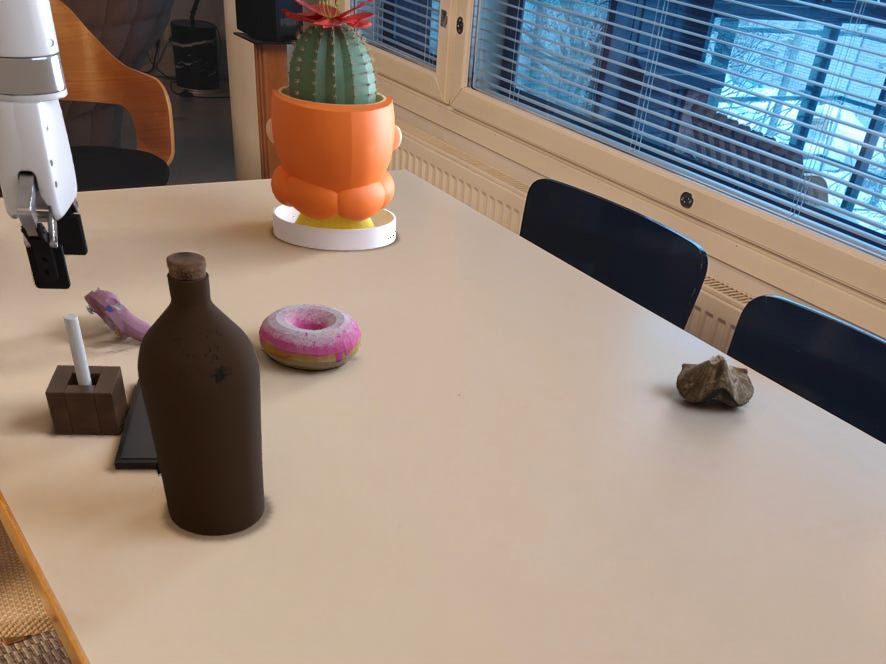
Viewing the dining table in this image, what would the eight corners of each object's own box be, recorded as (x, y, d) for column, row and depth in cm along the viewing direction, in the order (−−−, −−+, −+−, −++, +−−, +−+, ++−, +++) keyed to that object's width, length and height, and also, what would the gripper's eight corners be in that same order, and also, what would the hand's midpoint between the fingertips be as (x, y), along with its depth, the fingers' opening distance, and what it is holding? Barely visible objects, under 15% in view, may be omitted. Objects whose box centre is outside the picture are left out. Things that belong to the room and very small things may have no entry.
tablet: (115, 469, 95) (113, 461, 94) (139, 385, 109) (138, 377, 109) (222, 469, 97) (221, 461, 96) (231, 386, 111) (231, 378, 111)
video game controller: (103, 333, 123) (70, 291, 117) (128, 312, 124) (98, 270, 118) (136, 359, 118) (103, 317, 112) (162, 338, 118) (132, 295, 113)
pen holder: (55, 434, 99) (44, 392, 96) (66, 405, 104) (57, 364, 101) (119, 434, 100) (111, 393, 97) (128, 406, 105) (120, 366, 102)
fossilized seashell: (756, 377, 122) (682, 373, 124) (759, 345, 116) (681, 341, 118) (748, 424, 119) (673, 418, 122) (751, 394, 113) (672, 389, 116)
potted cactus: (271, 216, 162) (257, -21, 139) (393, 221, 166) (399, -9, 143) (273, 257, 146) (256, -2, 123) (407, 261, 151) (416, 11, 128)
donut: (291, 326, 126) (290, 291, 123) (377, 346, 124) (378, 311, 121) (242, 361, 117) (238, 324, 113) (334, 384, 114) (333, 346, 111)
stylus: (85, 422, 101) (62, 319, 93) (87, 416, 102) (64, 313, 95) (98, 422, 102) (76, 319, 94) (100, 417, 103) (78, 314, 95)
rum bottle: (291, 501, 93) (275, 254, 77) (229, 552, 85) (198, 291, 69) (206, 473, 96) (174, 228, 79) (139, 520, 88) (89, 260, 72)
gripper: (-2, 55, 85) (42, 241, 97) (-55, 92, 73) (3, 301, 84) (80, 60, 87) (114, 243, 98) (43, 97, 74) (87, 303, 85)
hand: (63, 270), depth 91 cm, fingers open, 9 cm apart
